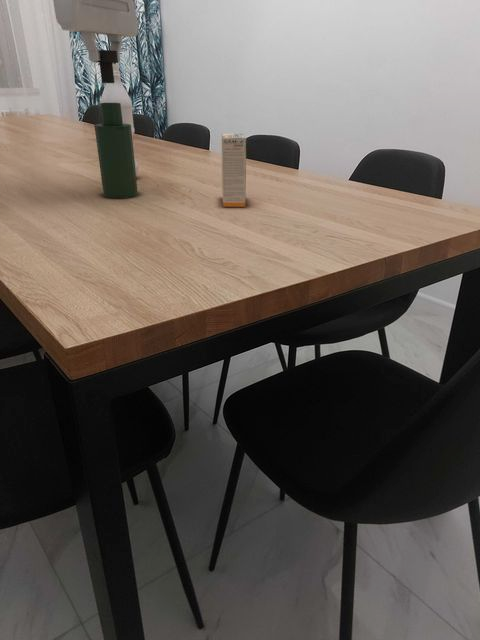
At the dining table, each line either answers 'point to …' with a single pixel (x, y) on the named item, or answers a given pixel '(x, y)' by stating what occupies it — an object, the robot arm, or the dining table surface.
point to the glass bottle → (115, 153)
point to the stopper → (107, 65)
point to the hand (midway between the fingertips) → (105, 61)
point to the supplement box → (234, 170)
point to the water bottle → (119, 100)
